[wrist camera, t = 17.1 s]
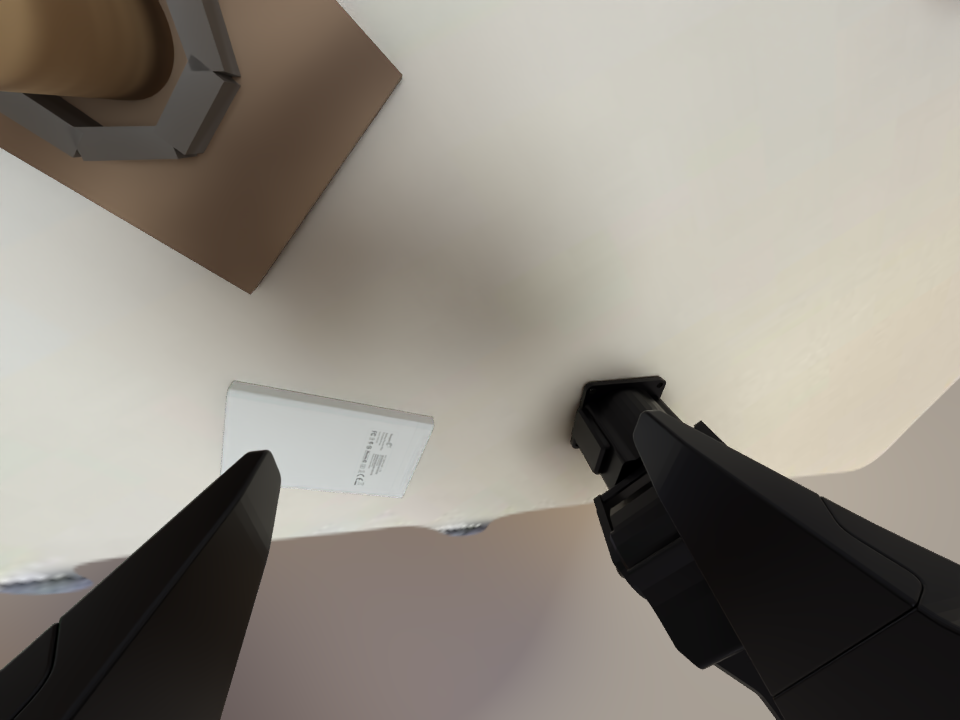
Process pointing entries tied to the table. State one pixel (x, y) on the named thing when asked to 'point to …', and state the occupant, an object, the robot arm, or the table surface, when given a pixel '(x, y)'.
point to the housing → (218, 129)
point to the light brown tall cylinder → (85, 48)
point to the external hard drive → (325, 440)
